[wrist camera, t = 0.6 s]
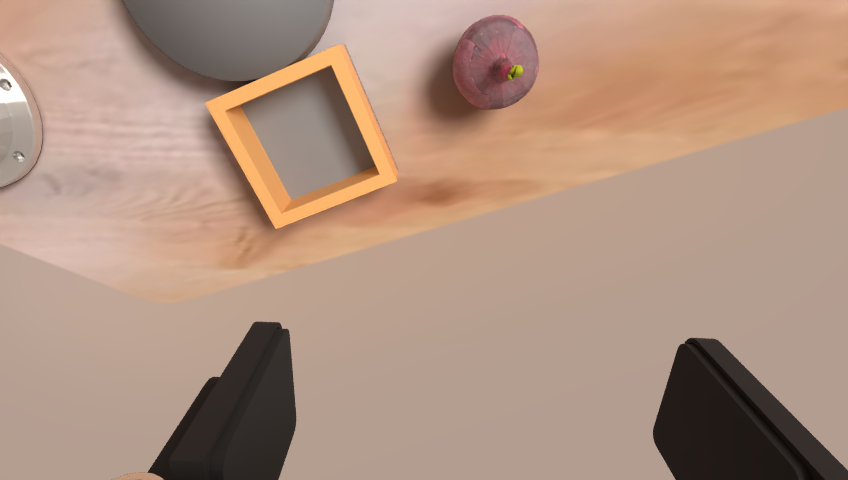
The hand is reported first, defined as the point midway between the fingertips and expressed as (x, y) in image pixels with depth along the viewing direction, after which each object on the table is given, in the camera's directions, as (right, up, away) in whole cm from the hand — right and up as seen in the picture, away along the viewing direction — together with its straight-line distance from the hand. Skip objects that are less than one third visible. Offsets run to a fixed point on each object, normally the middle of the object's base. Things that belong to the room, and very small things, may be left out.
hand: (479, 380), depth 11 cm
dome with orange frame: (-13, +18, +25) cm, 33 cm away
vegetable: (+4, +17, +26) cm, 31 cm away
